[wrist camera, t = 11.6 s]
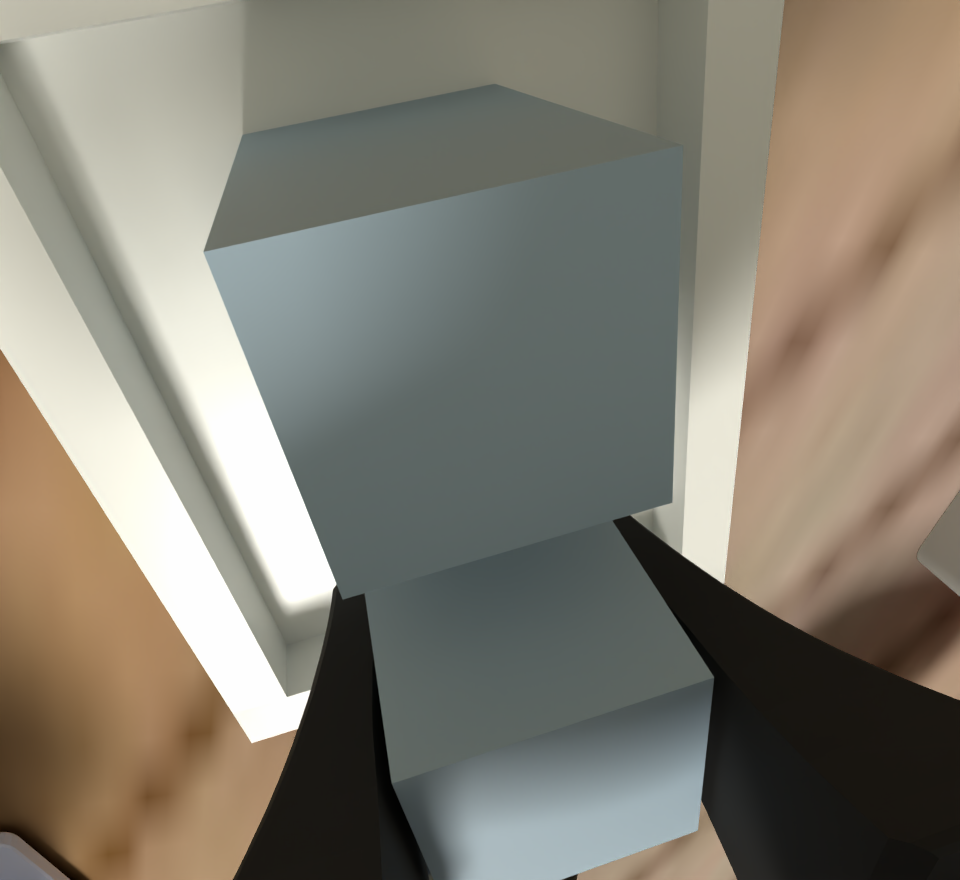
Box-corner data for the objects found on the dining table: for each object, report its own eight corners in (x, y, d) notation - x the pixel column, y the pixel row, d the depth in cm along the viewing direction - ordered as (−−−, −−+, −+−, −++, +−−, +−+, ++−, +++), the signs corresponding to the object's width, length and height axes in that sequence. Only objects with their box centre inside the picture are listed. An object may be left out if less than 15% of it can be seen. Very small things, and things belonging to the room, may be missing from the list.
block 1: (318, 365, 12) (342, 599, 7) (243, 134, 10) (203, 252, 5) (522, 314, 13) (671, 502, 8) (495, 83, 10) (683, 145, 5)
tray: (255, 656, 17) (251, 742, 15) (-134, -45, 9) (-262, -64, 7) (675, 531, 19) (723, 595, 17) (701, -175, 10) (808, -222, 8)
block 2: (394, 615, 15) (451, 918, 10) (348, 477, 12) (391, 783, 7) (563, 566, 15) (697, 830, 10) (548, 423, 13) (714, 677, 8)
